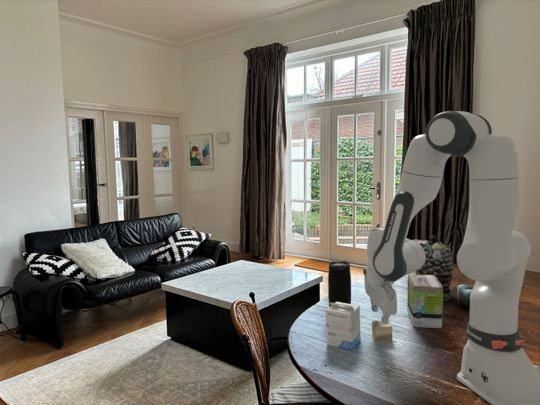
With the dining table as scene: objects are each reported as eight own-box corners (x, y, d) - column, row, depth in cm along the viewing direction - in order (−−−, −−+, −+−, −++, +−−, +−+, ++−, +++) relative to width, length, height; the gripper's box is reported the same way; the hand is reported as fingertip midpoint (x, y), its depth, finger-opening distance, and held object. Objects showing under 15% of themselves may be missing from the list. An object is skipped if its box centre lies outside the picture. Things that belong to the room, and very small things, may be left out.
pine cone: (460, 303, 160) (461, 241, 157) (420, 302, 163) (420, 241, 160) (446, 286, 180) (447, 231, 178) (411, 286, 183) (411, 231, 180)
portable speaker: (350, 308, 159) (350, 259, 157) (352, 318, 150) (351, 266, 148) (328, 308, 160) (327, 259, 158) (328, 317, 151) (327, 266, 149)
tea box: (443, 329, 138) (443, 286, 136) (412, 327, 140) (412, 286, 139) (434, 312, 153) (435, 273, 151) (406, 311, 155) (406, 273, 153)
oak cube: (392, 341, 131) (392, 326, 130) (377, 342, 130) (377, 327, 130) (386, 334, 136) (386, 320, 135) (372, 335, 135) (371, 321, 135)
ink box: (361, 339, 132) (360, 300, 131) (351, 350, 125) (351, 308, 124) (336, 334, 137) (335, 296, 135) (326, 344, 130) (325, 304, 128)
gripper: (403, 286, 121) (401, 330, 123) (379, 266, 141) (378, 304, 143) (382, 287, 120) (381, 331, 122) (361, 267, 141) (360, 305, 143)
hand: (379, 316), depth 133 cm, fingers open, 8 cm apart
